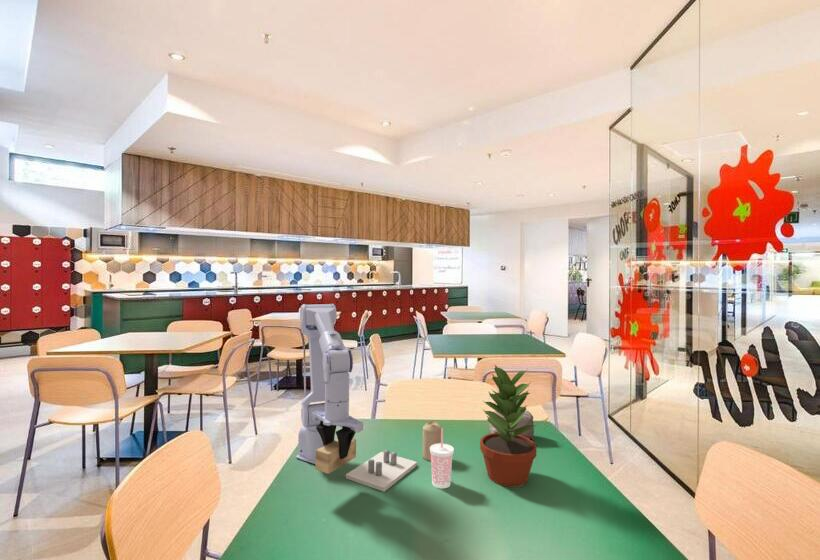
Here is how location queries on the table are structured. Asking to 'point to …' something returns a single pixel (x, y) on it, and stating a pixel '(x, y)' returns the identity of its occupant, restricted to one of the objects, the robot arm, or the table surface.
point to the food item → (519, 424)
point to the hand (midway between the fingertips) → (336, 455)
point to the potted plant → (508, 434)
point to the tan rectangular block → (333, 456)
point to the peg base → (386, 472)
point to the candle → (430, 437)
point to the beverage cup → (441, 463)
